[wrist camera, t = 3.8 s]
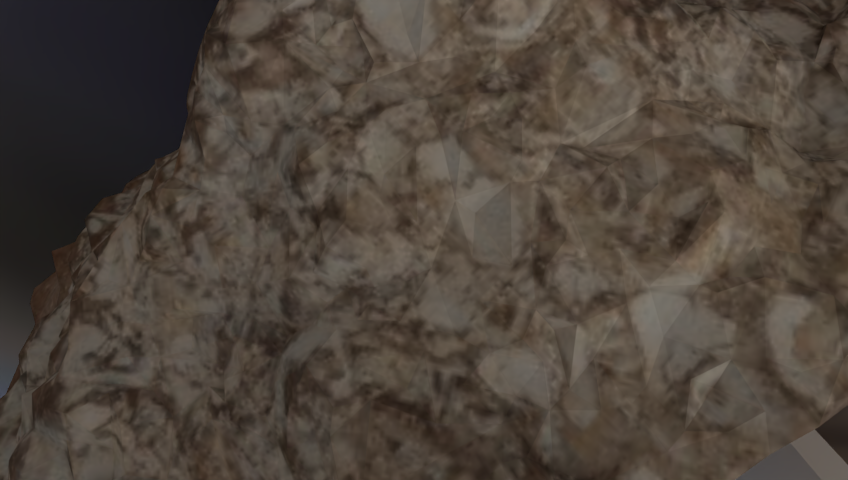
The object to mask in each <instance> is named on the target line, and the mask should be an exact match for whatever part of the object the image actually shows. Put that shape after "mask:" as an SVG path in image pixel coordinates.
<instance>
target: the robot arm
mask: <svg viewBox="0 0 848 480" xmlns="http://www.w3.org/2000/svg"><path fill="white" fill-rule="evenodd" d="M735 480H848V465H847V464H846V463H845V461H844V460H843V459H842V458H841V457H840V456H839V455H838V454H837V453H836V452H835V451H834V450H833V448H832V447H831V446H830V445H829V444H828V443H827V442H826V441H825V440H824V439H823V438H822V437H821V436H820V434H819V433H818V432H817V431H816V430H815V429H814V430H813V431H811V432H809V433H807V434H806V435H804V436H802V437H800V438H798V439H797V440H795V441H793V442H791V443H790V444H788V445H786V446H784V447H783V448H781V449H779V450H777V451H775V452H774V453H772V454H770V455H769V456H767V457H766V458H765V459H763V460H762V461H760V462H759V463H758V464H756V465H755V466H753V467H752V468H751V469H749V470H748V471H747V472H745V473H744V474H742V475H741V476H740V477H738V478H737V479H735Z"/></svg>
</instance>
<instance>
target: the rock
mask: <svg viewBox="0 0 848 480" xmlns="http://www.w3.org/2000/svg"><path fill="white" fill-rule="evenodd" d="M187 109H188V117H187V121H186V125H185V128H184V132H183V136H182V140H181V144H180V148H179V149H178V150H176V151H174V152H172V153H170V154H168V155H166V156H164V157H162V158H158V159H155V164H154V165H153V166H152V168H151V169H150V170H148V171H146V172H144V173H142V174H140V175H138V176H137V177H135V178H134V179H133V180H131V181H130V182H129V183H127V184H126V185H125V187H124V189H123V191H122V193H119V194H116V195H112V196H109V197H105V198H102V199H101V201H100V202H99V203H98V204H97V205H96V207H95V208H94V209H93V210H92V211H91V212H90V214H89V215H88V216H87V217H86V218H85V224H86V227H85V228H84V230H83V231H82V232H81V233H80V234H79V236H78V237H77V239H76V242H74V243H72V244H69V245H67V246H64V247H62V248H59V249H57V250H54V251H52V256H53V260H54V265H55V269H56V272H54V273H53V274H52V275H51V276H49V277H48V278H47V279H46V280H44V281H43V282H42V283H41V284H40V285H38V286H37V287H36V288H35V289H34V291H33V295H32V298H31V302H30V305H31V309H32V312H33V316H34V320H35V326H34V328H33V330H32V332H31V334H30V336H29V337H28V339H27V341H26V343H25V345H24V346H23V348H22V350H21V352H20V353H19V365H18V367H17V370H16V372H15V374H14V377H13V379H12V381H11V384H10V386H9V388H8V391H7V393H6V395H4V396H3V397H2V398H1V399H0V480H735V479H737V478H738V477H740V476H741V475H742V474H744V473H745V472H747V471H748V470H749V469H751V468H752V467H753V466H755V465H756V464H758V463H759V462H760V461H762V460H763V459H765V458H766V457H767V456H769V455H770V454H772V453H774V452H775V451H777V450H779V449H781V448H783V447H784V446H786V445H788V444H790V443H791V442H793V441H795V440H797V439H798V438H800V437H802V436H804V435H806V434H807V433H809V432H811V431H813V430H814V429H816V428H818V427H819V426H821V425H822V424H823V423H825V422H826V421H827V420H829V419H830V418H831V417H833V416H834V415H835V414H837V413H838V412H839V411H841V410H842V409H843V408H845V407H846V406H847V405H848V0H219V2H218V4H217V6H216V8H215V10H214V12H213V15H212V17H211V19H210V21H209V23H208V26H207V28H206V31H205V34H204V37H203V39H202V42H201V45H200V48H199V51H198V55H197V58H196V62H195V66H194V69H193V73H192V77H191V81H190V85H189V90H188V94H187Z"/></svg>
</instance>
